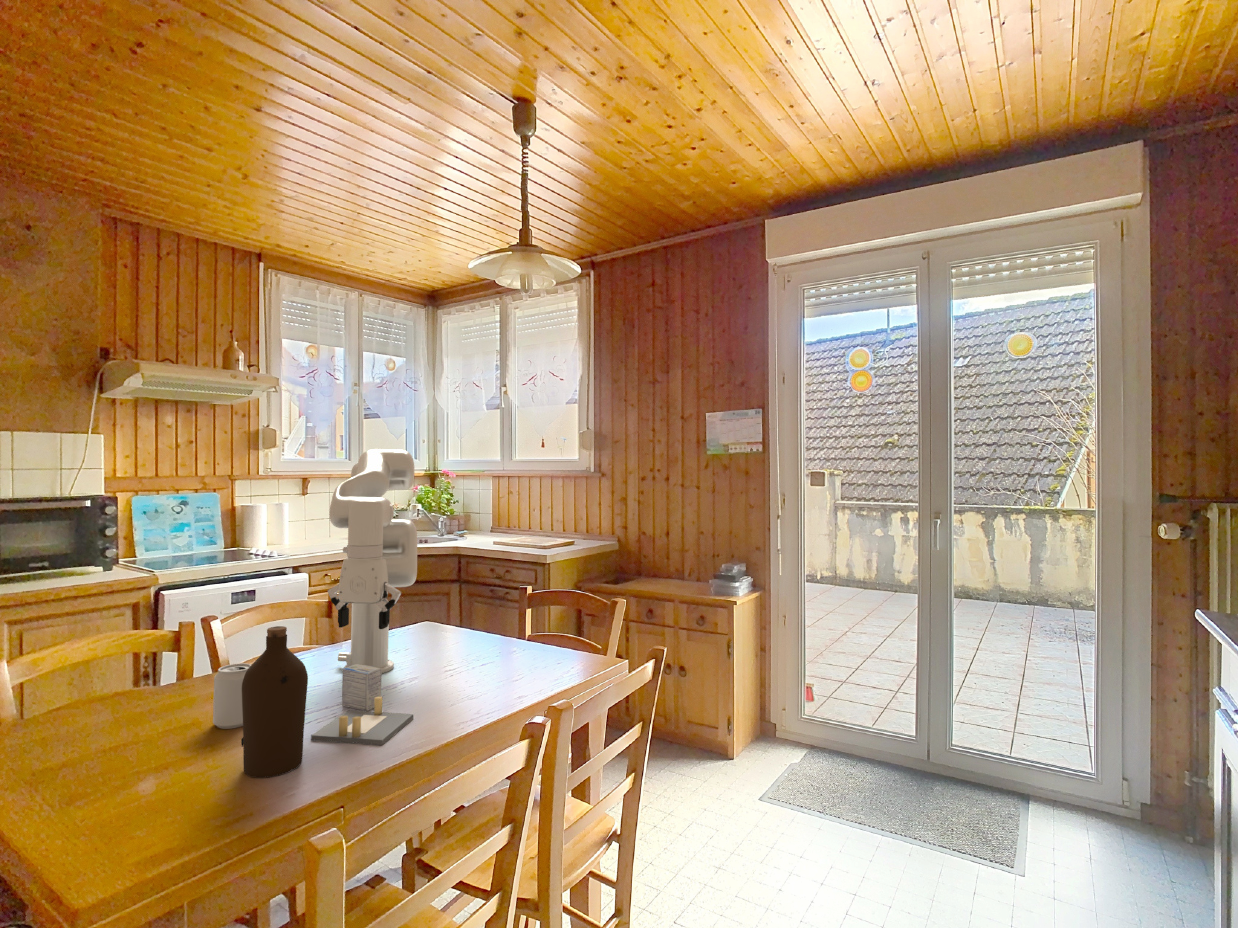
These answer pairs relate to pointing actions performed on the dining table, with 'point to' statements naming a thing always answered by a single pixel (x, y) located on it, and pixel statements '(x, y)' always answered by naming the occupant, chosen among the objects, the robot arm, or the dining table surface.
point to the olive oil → (274, 709)
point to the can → (229, 696)
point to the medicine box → (361, 686)
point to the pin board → (363, 726)
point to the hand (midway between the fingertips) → (363, 627)
